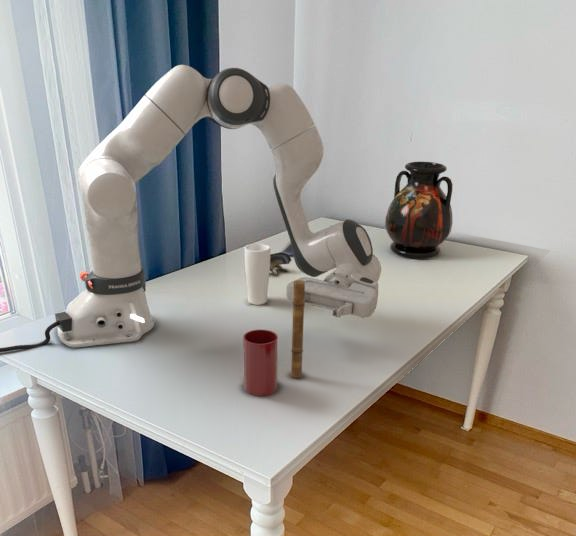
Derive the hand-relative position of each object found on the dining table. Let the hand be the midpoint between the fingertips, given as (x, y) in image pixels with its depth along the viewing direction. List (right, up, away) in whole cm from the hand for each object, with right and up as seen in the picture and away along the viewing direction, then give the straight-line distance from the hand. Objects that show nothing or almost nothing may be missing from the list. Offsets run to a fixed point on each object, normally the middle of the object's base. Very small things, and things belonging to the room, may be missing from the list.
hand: (315, 308), depth 127 cm
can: (-11, -17, -4) cm, 21 cm away
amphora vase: (+37, +28, +74) cm, 87 cm away
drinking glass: (-14, +6, +35) cm, 38 cm away
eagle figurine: (-10, +17, +54) cm, 58 cm away
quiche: (+4, +29, +75) cm, 80 cm away
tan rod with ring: (-4, -14, 0) cm, 15 cm away
